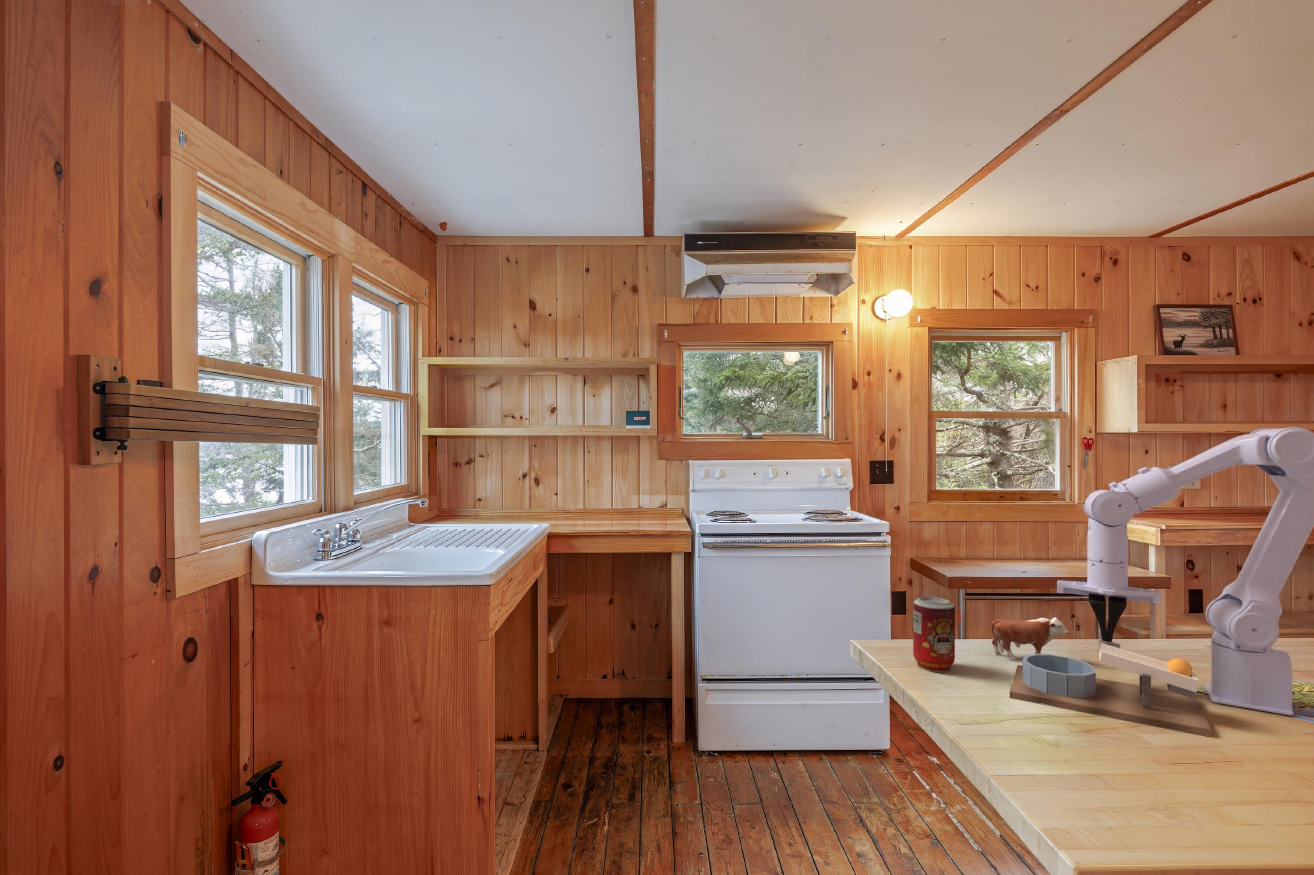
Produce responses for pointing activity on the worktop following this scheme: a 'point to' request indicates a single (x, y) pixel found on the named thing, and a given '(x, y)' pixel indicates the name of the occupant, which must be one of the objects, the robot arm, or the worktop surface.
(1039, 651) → the bull figurine
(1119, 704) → the base board
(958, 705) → the worktop surface
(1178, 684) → the tilted wooden ramp
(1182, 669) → the ball
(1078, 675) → the bowl
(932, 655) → the soda can
